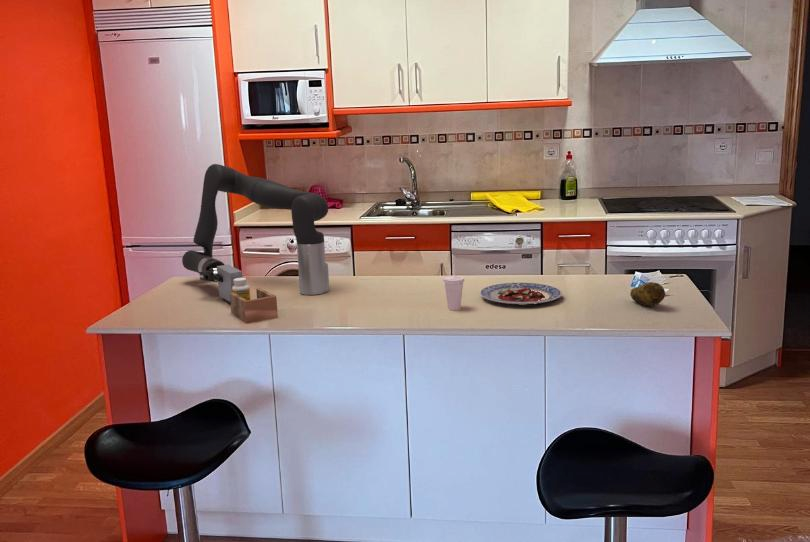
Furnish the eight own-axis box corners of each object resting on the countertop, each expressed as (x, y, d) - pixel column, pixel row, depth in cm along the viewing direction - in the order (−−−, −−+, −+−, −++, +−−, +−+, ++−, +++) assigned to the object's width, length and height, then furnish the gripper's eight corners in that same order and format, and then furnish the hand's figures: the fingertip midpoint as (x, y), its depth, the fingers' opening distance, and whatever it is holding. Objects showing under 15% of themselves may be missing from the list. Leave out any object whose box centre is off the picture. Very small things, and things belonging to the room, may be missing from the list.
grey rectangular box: (219, 295, 249) (216, 266, 247) (230, 293, 251) (228, 264, 249) (232, 303, 238) (229, 273, 236) (244, 301, 240) (242, 271, 238)
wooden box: (231, 313, 231) (229, 293, 230) (261, 307, 236) (259, 288, 235) (246, 323, 220) (244, 301, 219) (277, 317, 226) (276, 296, 224)
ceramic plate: (577, 303, 231) (578, 294, 230) (503, 313, 222) (503, 304, 222) (536, 285, 255) (536, 277, 254) (467, 294, 246) (466, 285, 246)
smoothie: (467, 306, 230) (466, 262, 227) (461, 312, 225) (461, 266, 221) (447, 305, 233) (446, 261, 229) (441, 310, 227) (440, 265, 224)
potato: (655, 300, 231) (657, 275, 229) (667, 311, 218) (668, 285, 216) (628, 300, 231) (629, 275, 230) (638, 312, 219) (639, 285, 217)
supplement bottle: (247, 305, 240) (245, 276, 238) (253, 308, 236) (251, 279, 234) (231, 308, 238) (228, 278, 235) (237, 311, 233) (235, 281, 231)
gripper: (190, 261, 254) (206, 270, 240) (230, 255, 261) (248, 264, 247) (192, 282, 255) (208, 292, 241) (232, 276, 263) (250, 286, 249)
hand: (228, 278), depth 244 cm, fingers closed on grey rectangular box, 4 cm apart
